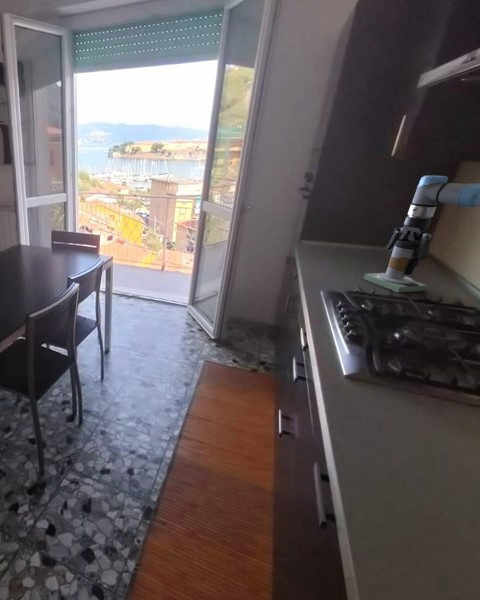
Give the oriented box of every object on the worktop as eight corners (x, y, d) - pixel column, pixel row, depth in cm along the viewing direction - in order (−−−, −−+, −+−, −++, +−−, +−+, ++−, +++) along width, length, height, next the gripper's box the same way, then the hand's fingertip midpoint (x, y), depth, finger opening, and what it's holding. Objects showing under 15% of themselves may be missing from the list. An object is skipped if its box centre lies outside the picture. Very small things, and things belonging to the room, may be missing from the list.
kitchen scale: (424, 290, 147) (427, 283, 145) (397, 292, 145) (400, 285, 144) (388, 277, 161) (391, 270, 160) (363, 278, 159) (365, 272, 158)
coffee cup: (405, 274, 153) (419, 240, 146) (409, 280, 146) (425, 245, 140) (381, 271, 157) (394, 237, 150) (384, 276, 150) (398, 242, 144)
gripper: (387, 212, 150) (369, 263, 159) (438, 222, 131) (414, 279, 141) (402, 211, 151) (383, 263, 160) (455, 221, 132) (430, 278, 142)
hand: (398, 270), depth 150 cm, fingers closed on coffee cup, 7 cm apart
